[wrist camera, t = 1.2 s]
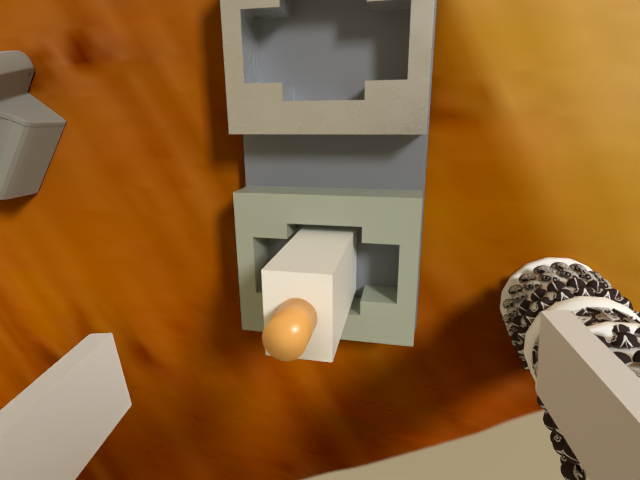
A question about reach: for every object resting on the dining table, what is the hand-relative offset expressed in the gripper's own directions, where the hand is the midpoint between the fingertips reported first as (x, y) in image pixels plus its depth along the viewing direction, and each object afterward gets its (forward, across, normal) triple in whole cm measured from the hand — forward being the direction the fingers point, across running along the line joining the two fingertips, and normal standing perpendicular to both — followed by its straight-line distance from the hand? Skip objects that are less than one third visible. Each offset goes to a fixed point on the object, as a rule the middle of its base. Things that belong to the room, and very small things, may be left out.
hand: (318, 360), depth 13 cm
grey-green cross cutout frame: (+25, +2, +5) cm, 25 cm away
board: (+26, +1, -3) cm, 26 cm away
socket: (+25, 0, -12) cm, 27 cm away
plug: (+24, +2, +5) cm, 25 cm away
